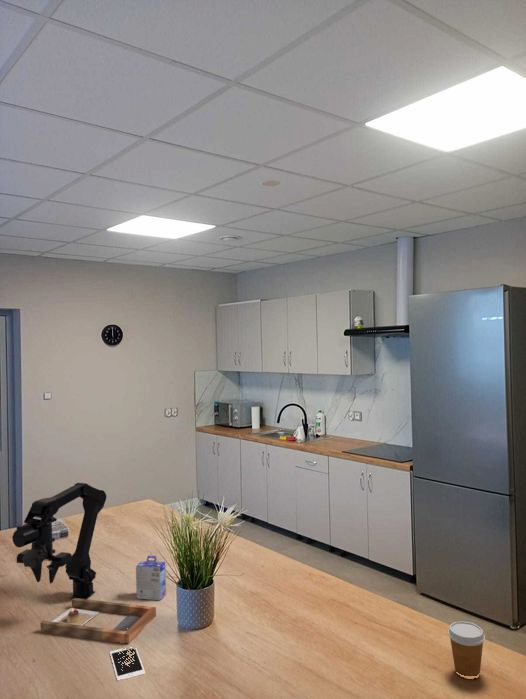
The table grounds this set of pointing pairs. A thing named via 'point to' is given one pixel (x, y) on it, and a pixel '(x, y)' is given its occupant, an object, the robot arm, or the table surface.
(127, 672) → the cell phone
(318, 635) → the table surface
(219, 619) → the table surface
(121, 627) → the walled channel
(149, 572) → the ink cartridge box
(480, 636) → the disposable coffee cup
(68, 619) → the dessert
